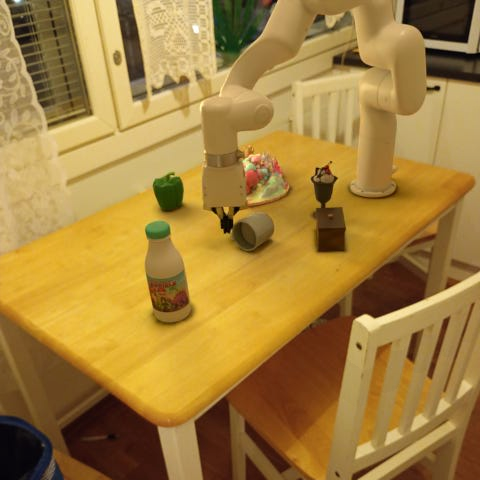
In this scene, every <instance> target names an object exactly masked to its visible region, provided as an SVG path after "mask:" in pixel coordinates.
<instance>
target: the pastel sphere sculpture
mask: <svg viewBox="0 0 480 480" xmlns="http://www.w3.org/2000/svg"><path fill="white" fill-rule="evenodd" d="M242 151H245V158H240V160H242V162H243V166H244V170H245V177H246V186H247V198H246V199H247V202H248V207H253V206H260V205H264V204H266V203H267V204H268V203H271V202H274V201H277V200H279V199H280V198H283V197H285V196H286V195H287V194H288V192H289V191H290V184H289V182H288V181H285V180H284V178H283V175H284V172H283V170H281V166H280V165H279V163H278V162H279V161H278V160H277V157H276V154H274V155H273V158H272V157H271V153H270V151H269V150H267V155H266V152H265V150H263V153H256V154H255V153H254V152H255V147H254V146H252V145H250V144H247V145H244V146H243V148H242Z"/></svg>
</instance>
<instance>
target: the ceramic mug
mask: <svg viewBox="0 0 480 480" xmlns="http://www.w3.org/2000/svg"><path fill="white" fill-rule="evenodd" d="M233 224H234V226H233V229H231V233H230V234H229V237H230V239H231V241H234V242H235V244H236V245H237V246H238V247H239V248H240V249H241V250H244V251H245V252H251V251H254V250H255V249H257V248H258V247H260V246H261V245H262V244H264V242H266V241H268V240H269V239H270V238H271V237H272V236H273V234H274V232H275V223H274V221H273V219H272V216H270V215H269V214H268V213H266V212H264V211H255V212H253V213H251V214H249V215H247V216H246V217H243V218H241V219H239V220H237V221H236V222H235V223H233Z"/></svg>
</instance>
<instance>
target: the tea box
mask: <svg viewBox="0 0 480 480" xmlns="http://www.w3.org/2000/svg"><path fill="white" fill-rule="evenodd" d="M315 212H316V219H315V220H316V221H315V228H316V229H315V233H316V244H317V252H337V251H338V252H339V251H341V252H342V251H345V239H346V238H345V237H346V231H347V226H346V220H345V214H344V209H343V207H342V206H339V207H338V206H336V207H335V206H332V207H325V208H321V207H315Z"/></svg>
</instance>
